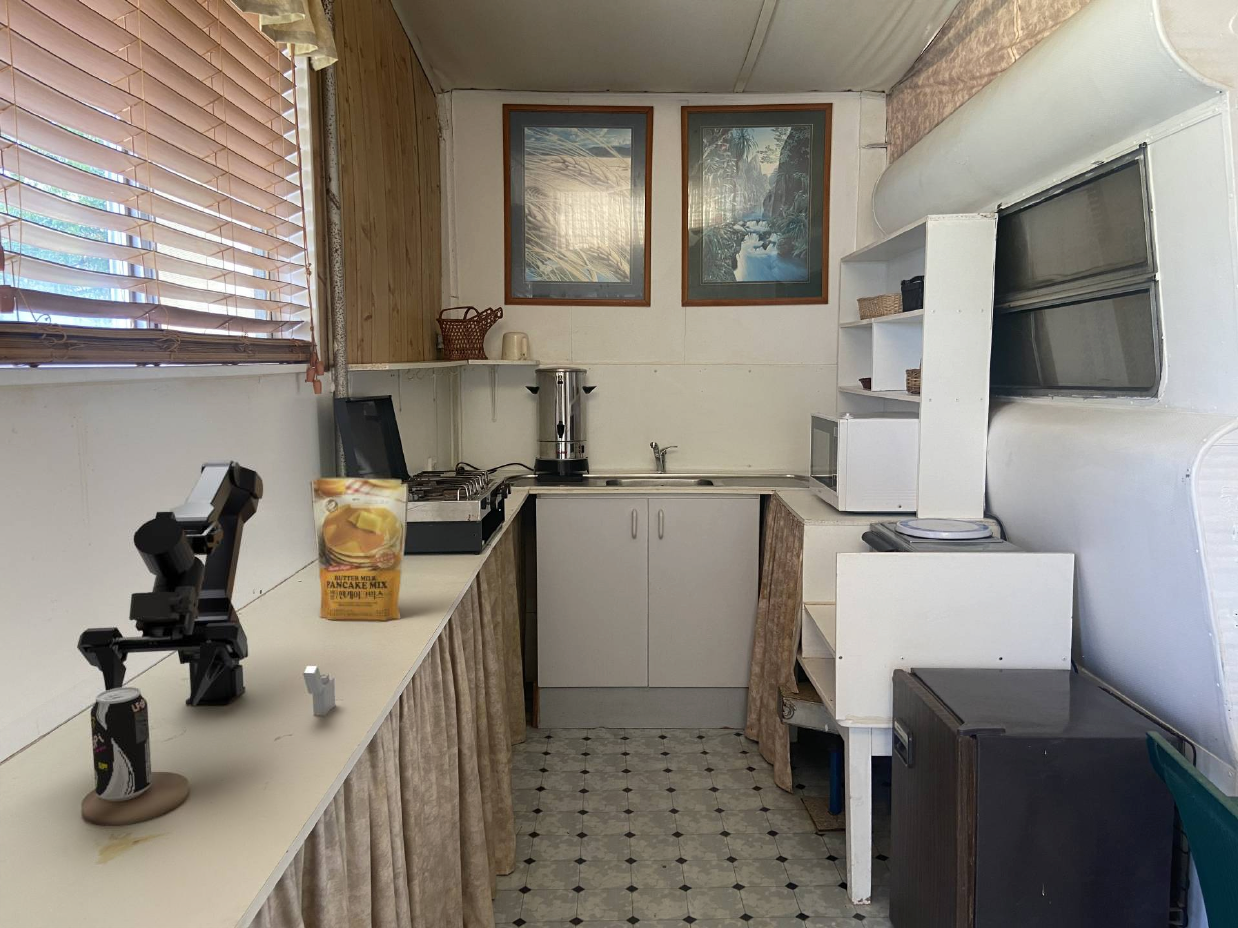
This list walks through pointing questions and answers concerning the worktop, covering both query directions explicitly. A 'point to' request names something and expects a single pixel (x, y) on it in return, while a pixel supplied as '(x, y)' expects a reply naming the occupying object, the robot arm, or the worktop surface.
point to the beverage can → (121, 744)
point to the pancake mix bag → (360, 546)
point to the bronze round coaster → (138, 802)
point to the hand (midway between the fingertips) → (151, 707)
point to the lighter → (320, 690)
